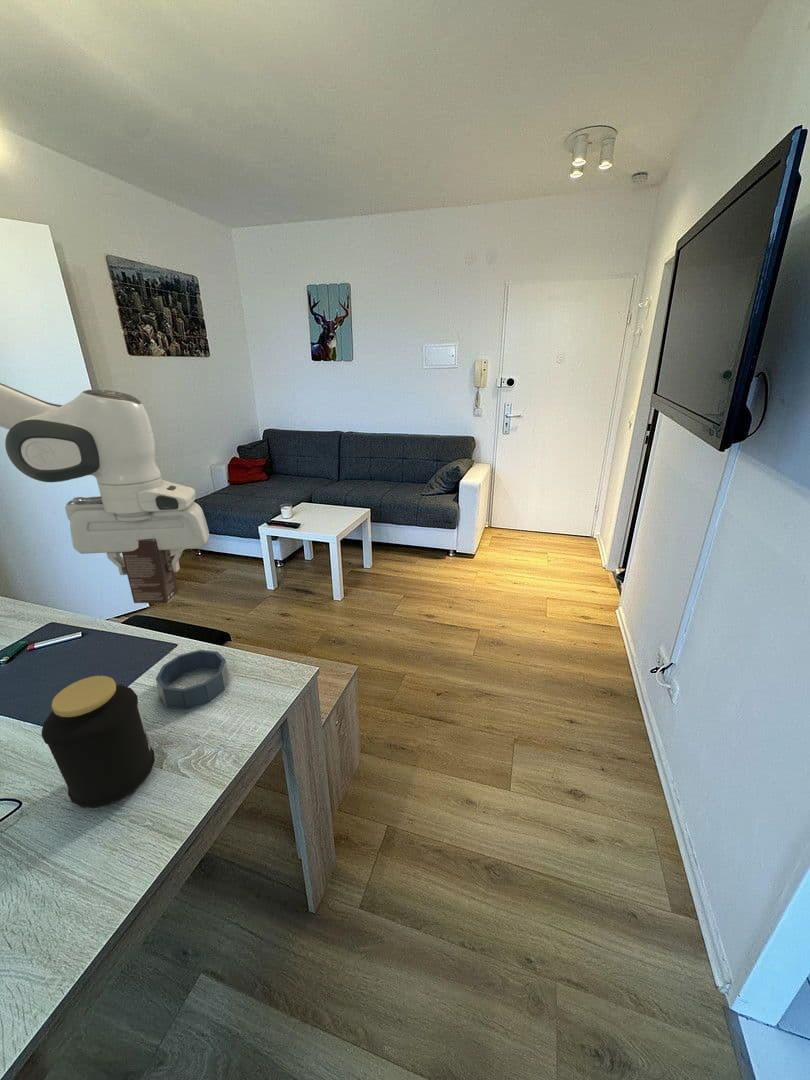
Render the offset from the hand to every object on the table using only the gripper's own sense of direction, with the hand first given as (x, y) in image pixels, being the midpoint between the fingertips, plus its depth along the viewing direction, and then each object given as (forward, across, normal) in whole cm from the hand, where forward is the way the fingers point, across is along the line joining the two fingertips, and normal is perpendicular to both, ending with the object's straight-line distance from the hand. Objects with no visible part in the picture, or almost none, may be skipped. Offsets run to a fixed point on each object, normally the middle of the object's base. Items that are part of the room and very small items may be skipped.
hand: (151, 572), depth 75 cm
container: (+29, -5, -17) cm, 34 cm away
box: (+5, 0, 0) cm, 5 cm away
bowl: (+28, +2, +4) cm, 29 cm away
